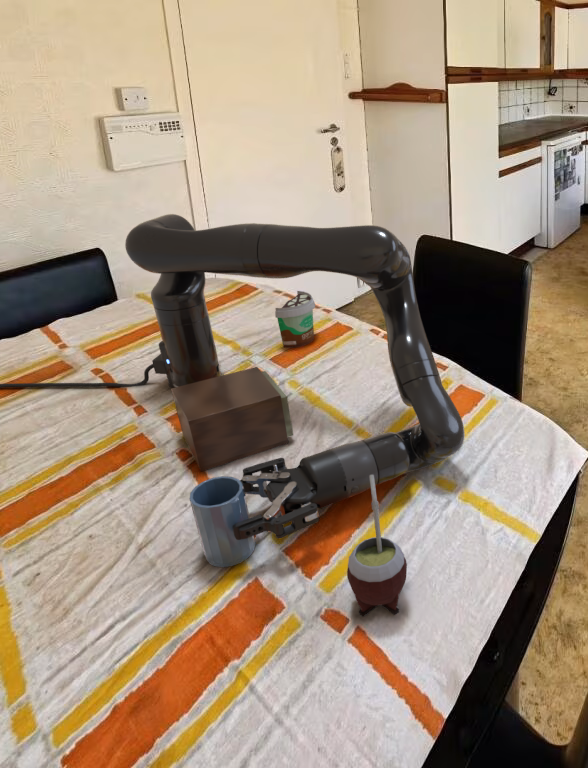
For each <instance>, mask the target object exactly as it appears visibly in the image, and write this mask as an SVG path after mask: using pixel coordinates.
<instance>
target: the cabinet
mask: <svg viewBox="0 0 588 768" xmlns="http://www.w3.org/2000/svg"><path fill="white" fill-rule="evenodd" d="M262 372H263V371H261V370H260V369H259V367H258V366H254V367H251V368H250V367H249V368H247V369H243V370H238V371H234V372H231V373H228V374H227V373H226V374H222V376H219V377H215V378H211V379H207V380H203V381H199V382H195V383H191V384H187V385H183V386H179V387H175V388H174V387H171V388H170V390H171V394H172V398H173V401H174V405H175V410H176V414H177V418H178V421H179V426H180V429H181V432H182V437H183V438H184V441H185V443H186V445H187V447H188V449H189V450H190V453H191V455H192V457H193V459H194V461H195V463H196V465H197V467H198V469H199V471H200V472H204V471H208V470H211V469H214V468H217V467H220V466H223V465H227V464H229V463H232V462H236V461H238V460H241V459H245V458H248V457H251V456H255V455H258V454H260V453H263V452H267V451H270V450H272V449H275V448H278V447H282V446H285V445H288V444H289V437H287V431H286V425H285V419H284V413H283V407H282V401H281V395H280V394H279V393H278V391H277V390H276V389H275V388H274V387H273V385H272V384H271V383H270V382H269V381H268V379H267V378H266V377H265V376H264V375H263V373H262Z"/></svg>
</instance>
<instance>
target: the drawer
mask: <svg viewBox="0 0 588 768" xmlns="http://www.w3.org/2000/svg"><path fill="white" fill-rule="evenodd" d="M261 372H262V373H263V375H264V376H265V377H266V378H267V379H268V381H269V382H270V383H271V384H272V385H273V387H274V388H275V389H276V390H277V391H278V393H279V394H280V395H281V401H282V407H283V413H284V419H285V425H286V431H287V437H288V438H289V437H293V436H294V431H293V423H292V419H291V417H292V416H291V412H290V406H289V405H290V404H289V399H288V395H287V394H286V393H285V392H284V391H283V389H282V388H281V387H280V386H279V385H278V384H277V383H276V381H275V380H274V379H273V378H272V376H270V374H269V373H268V372H267V371H266V370H263V371H261Z"/></svg>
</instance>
